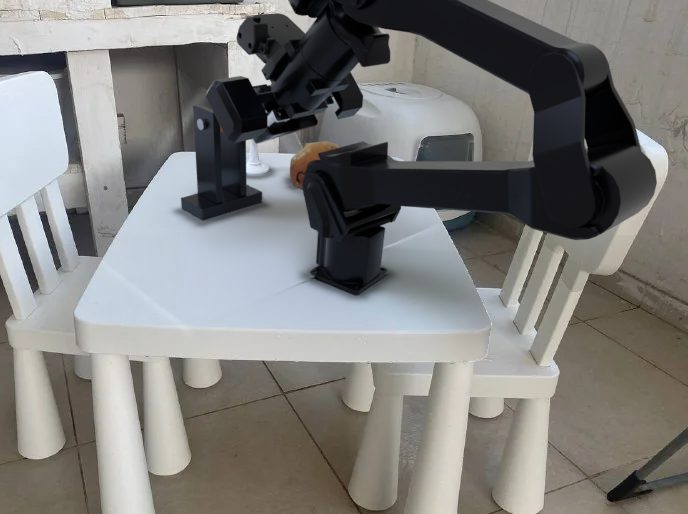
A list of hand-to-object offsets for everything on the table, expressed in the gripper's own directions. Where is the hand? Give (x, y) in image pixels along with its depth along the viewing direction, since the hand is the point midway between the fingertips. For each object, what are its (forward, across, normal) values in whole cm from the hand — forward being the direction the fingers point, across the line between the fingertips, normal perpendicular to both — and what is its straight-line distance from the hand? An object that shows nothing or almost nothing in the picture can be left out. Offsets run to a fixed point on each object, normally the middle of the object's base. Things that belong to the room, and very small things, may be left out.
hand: (256, 139), depth 73 cm
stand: (+13, 0, +3) cm, 14 cm away
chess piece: (+20, -12, -3) cm, 23 cm away
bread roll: (+12, -17, +4) cm, 22 cm away
